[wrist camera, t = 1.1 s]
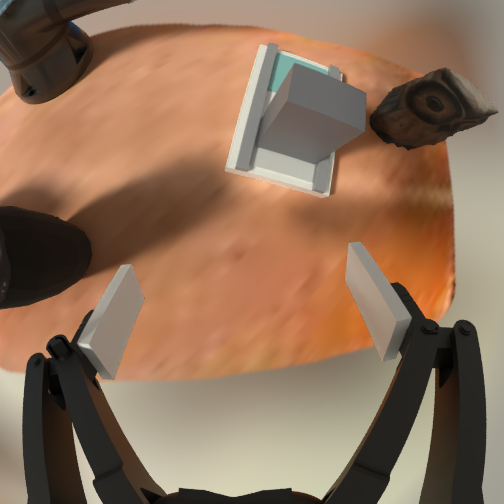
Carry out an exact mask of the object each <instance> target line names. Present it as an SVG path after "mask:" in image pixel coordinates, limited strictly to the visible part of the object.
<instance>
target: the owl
mask: <svg viewBox="0 0 504 504" xmlns="http://www.w3.org/2000/svg"><path fill="white" fill-rule="evenodd" d="M496 113H498V110H497V109H496V108H495V107H494V106H493V105H492V104H491V103H490V102H489V101H488V100H487V98H485V96H484V95H483V94H482V93H481V92H480V91H479V89H478V88H477V87H475V86H474V85H472V84H471V83H470V82H469V81H468V80H467V79H466V78H464V77H462V76H460V75H458V74H456V73H454V72H453V71H451V70H450V69H447V68H441V69H438V70H436V71H432V72H430V73H428V74H426V75H425V76H424V77H421V78H417V79H414V80H412V81H410V82H407V83H405V84H403V85H401V86H398V87H395V88H393V89H392V91H391V92H389V93H388V95H387V96H386V98H385V99H384V100H383V101H382V103H381V104H380V105H379V106H378V107H377V109H376V110H375V111H374V113H373V114H372V115H371V116H370V126H371V128H372V129H373V130H374V131H375V132H376V134H377V135H378V136H379V137H380V138H381V139H382V140H383V141H384V142H386V143H387V144H390V143H395V145H396V146H397V147H400V146H402V147H405V148H406V149H407V150H410V149H413V148H417V147H420V146H423V145H435V144H437V143H438V142H441V141H444V140H445V139H446V138H447V137H449V136H453V134H455V133H457V132H458V131H463V130H466V129H469V128H472V127H474V126H477V125H479V124H482V123H484V122H485V121H486V120H487V119H488V117H489V116H491V115H493V114H496Z"/></svg>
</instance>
